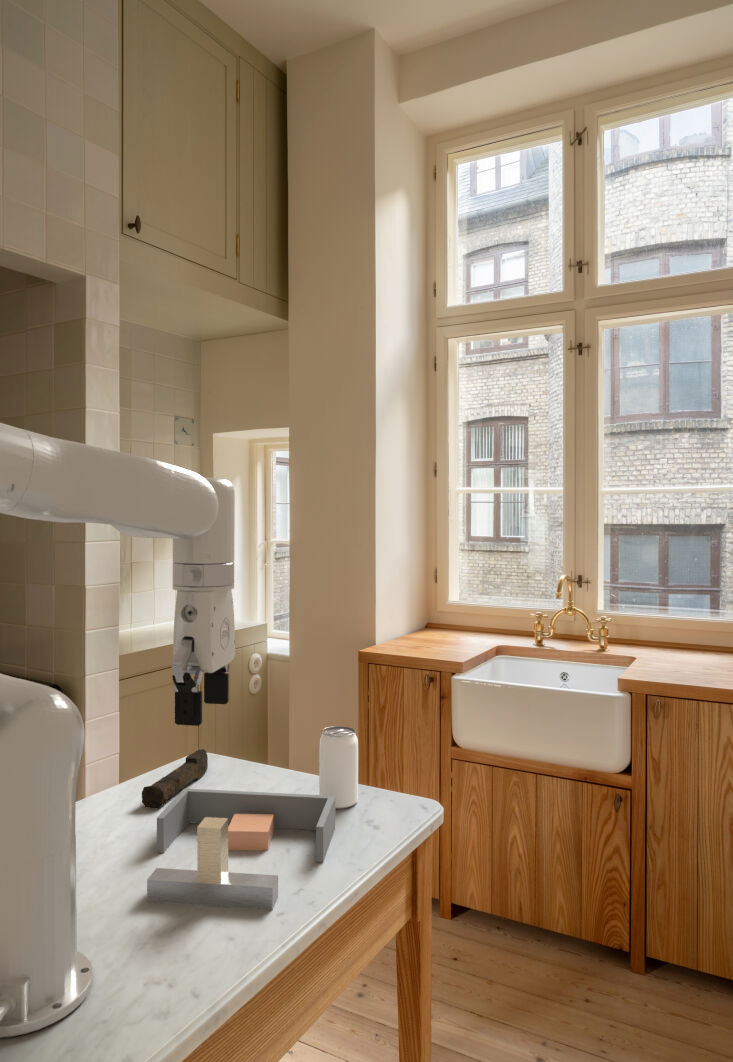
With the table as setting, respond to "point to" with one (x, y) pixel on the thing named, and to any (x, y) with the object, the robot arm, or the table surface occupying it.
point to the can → (339, 765)
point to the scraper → (213, 877)
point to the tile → (250, 831)
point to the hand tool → (176, 780)
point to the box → (224, 804)
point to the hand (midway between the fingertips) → (203, 713)
